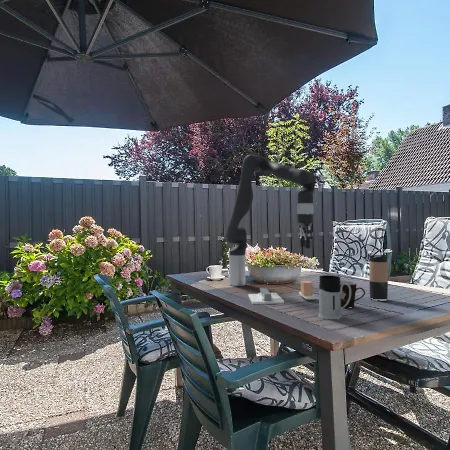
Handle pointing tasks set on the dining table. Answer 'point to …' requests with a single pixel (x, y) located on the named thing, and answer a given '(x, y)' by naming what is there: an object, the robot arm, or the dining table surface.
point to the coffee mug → (346, 293)
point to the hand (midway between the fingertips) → (305, 247)
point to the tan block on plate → (306, 290)
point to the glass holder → (331, 297)
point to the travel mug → (378, 276)
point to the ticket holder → (265, 297)
